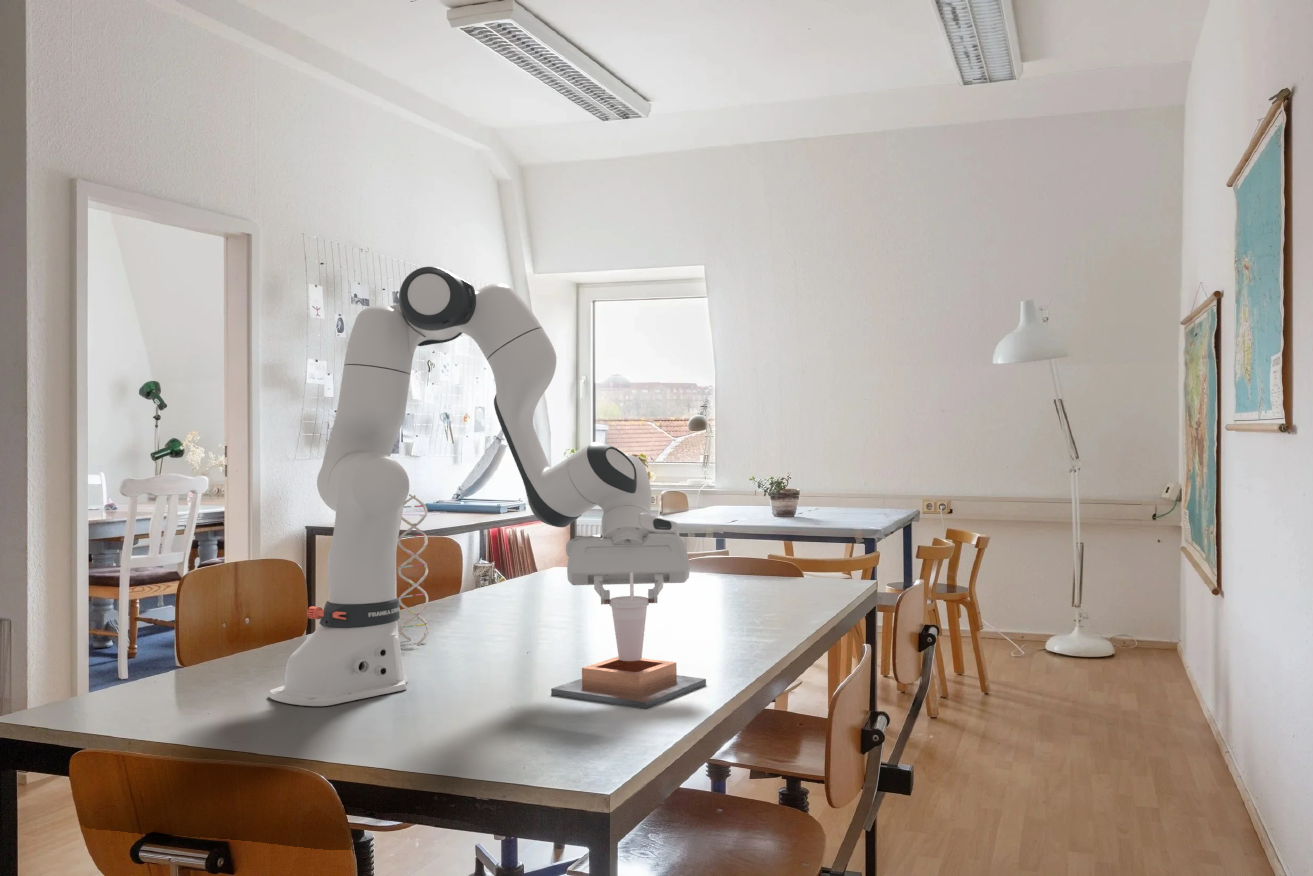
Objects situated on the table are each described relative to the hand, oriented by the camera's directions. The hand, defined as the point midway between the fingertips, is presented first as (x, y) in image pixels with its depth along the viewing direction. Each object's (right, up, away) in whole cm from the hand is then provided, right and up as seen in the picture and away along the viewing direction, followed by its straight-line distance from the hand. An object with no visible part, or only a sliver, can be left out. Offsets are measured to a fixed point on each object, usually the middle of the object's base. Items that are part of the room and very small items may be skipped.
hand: (629, 601), depth 169 cm
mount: (0, -14, 0) cm, 14 cm away
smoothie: (0, -10, +1) cm, 10 cm away
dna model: (-45, -15, +44) cm, 64 cm away
